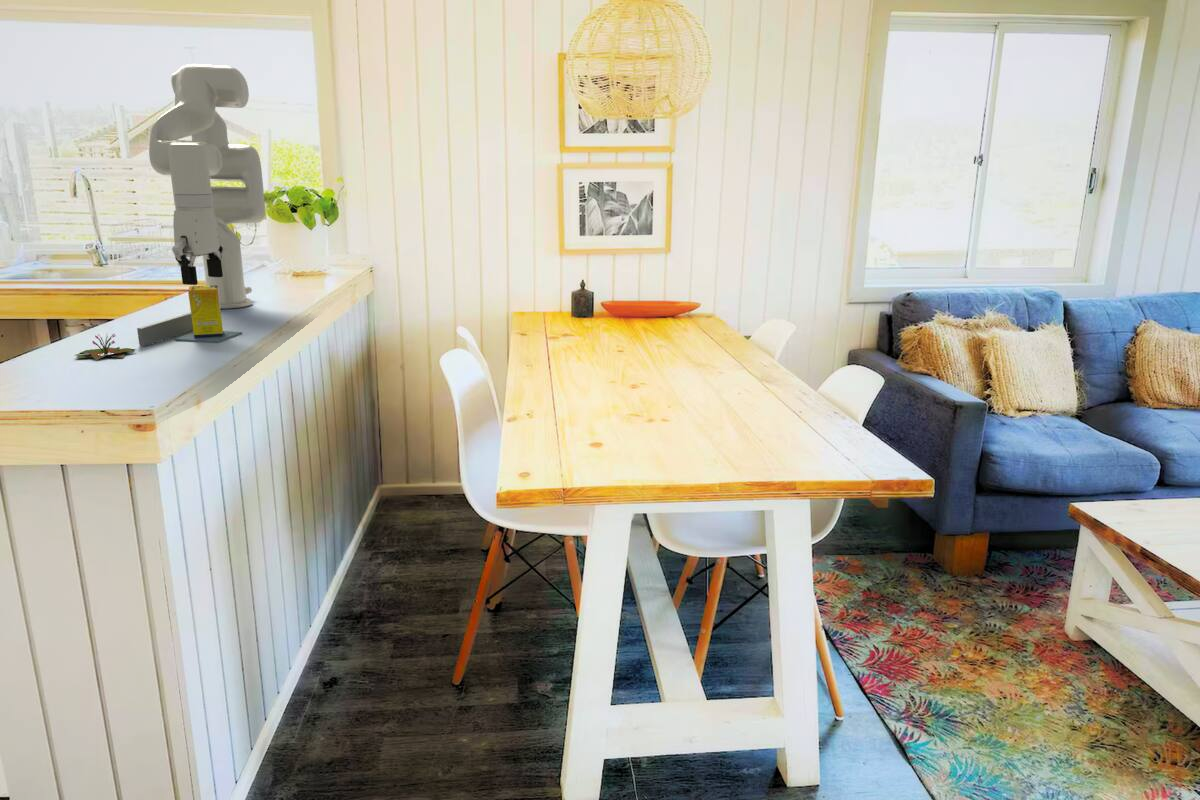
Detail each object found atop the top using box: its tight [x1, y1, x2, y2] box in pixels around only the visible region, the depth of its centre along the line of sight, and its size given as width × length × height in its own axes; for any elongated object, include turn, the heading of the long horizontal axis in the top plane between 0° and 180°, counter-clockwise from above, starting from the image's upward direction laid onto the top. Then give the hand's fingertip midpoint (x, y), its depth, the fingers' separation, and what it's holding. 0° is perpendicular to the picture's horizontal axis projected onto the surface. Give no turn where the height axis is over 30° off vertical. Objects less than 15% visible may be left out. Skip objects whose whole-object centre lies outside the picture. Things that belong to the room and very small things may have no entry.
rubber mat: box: [174, 330, 243, 344], centre depth 182 cm, size 10×10×1 cm
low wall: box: [136, 312, 193, 347], centre depth 182 cm, size 24×1×4 cm, turn 174°
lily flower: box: [74, 333, 135, 361], centre depth 163 cm, size 12×12×5 cm
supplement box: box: [187, 285, 224, 338], centre depth 180 cm, size 6×6×11 cm
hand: (203, 280), depth 179 cm, fingers open, 9 cm apart
